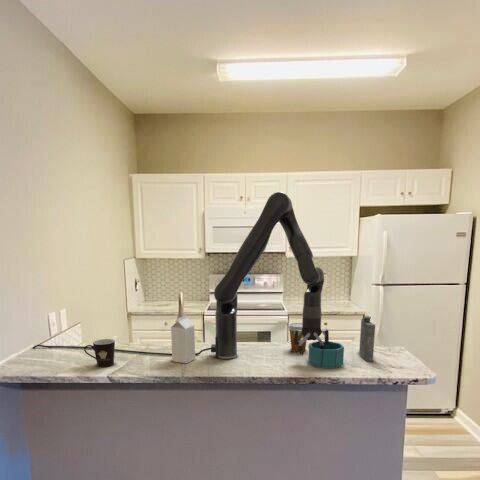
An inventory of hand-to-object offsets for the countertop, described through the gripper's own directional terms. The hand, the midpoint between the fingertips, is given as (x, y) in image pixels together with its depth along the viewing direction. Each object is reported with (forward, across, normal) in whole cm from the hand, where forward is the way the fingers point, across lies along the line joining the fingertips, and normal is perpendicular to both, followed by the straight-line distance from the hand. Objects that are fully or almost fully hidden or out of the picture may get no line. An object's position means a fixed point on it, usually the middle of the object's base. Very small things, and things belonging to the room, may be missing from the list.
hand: (310, 353), depth 169 cm
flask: (+4, -25, -9) cm, 27 cm away
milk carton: (+4, +54, -3) cm, 54 cm away
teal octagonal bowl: (+4, -6, 0) cm, 7 cm away
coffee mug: (+4, +87, +3) cm, 87 cm away
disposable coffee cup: (+4, +3, -19) cm, 20 cm away
